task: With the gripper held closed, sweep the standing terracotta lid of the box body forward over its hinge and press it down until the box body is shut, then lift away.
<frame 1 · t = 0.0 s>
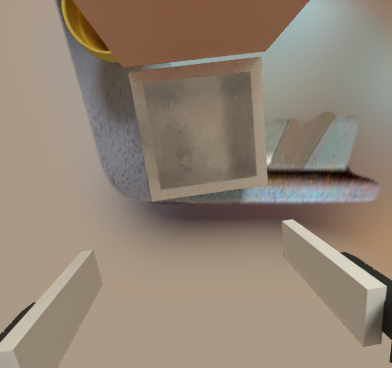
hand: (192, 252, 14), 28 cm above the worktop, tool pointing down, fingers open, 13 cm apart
box body: (197, 135, 39), on the worktop
plant pot: (124, 45, 36), on the worktop
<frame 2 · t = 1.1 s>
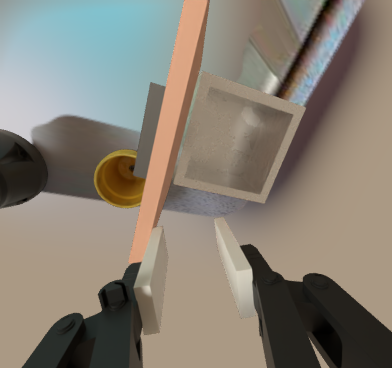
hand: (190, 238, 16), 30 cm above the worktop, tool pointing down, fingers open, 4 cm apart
lid: (163, 134, 22), point 20 cm above the worktop, hinge at 97.7°, touching gripper
box body: (221, 137, 44), on the worktop
plant pot: (133, 166, 44), on the worktop
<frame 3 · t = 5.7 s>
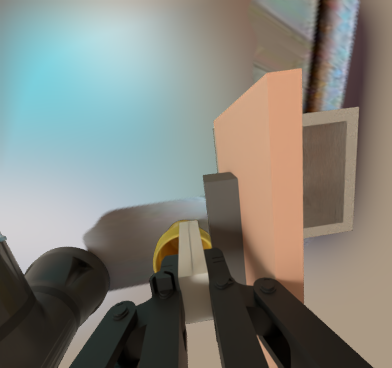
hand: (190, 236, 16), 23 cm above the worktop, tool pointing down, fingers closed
lid: (228, 220, 18), point 21 cm above the worktop, hinge at 94.0°, touching gripper, hand
box body: (263, 170, 39), on the worktop
plant pot: (184, 234, 41), on the worktop
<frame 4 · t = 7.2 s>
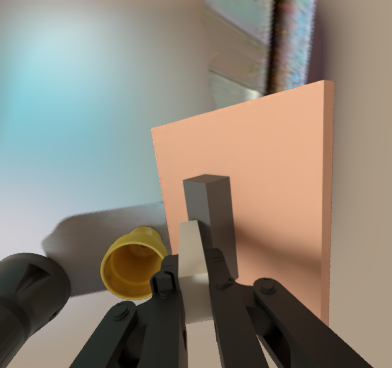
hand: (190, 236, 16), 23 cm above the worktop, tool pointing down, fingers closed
lid: (205, 223, 18), point 20 cm above the worktop, hinge at 57.4°, touching gripper
plant pot: (145, 240, 40), on the worktop
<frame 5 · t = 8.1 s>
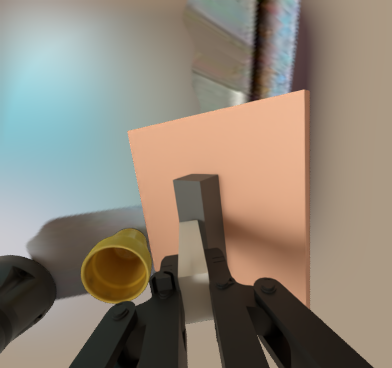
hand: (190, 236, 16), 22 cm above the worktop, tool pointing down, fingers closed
lid: (193, 221, 19), point 19 cm above the worktop, hinge at 45.1°, touching gripper
plant pot: (131, 243, 40), on the worktop
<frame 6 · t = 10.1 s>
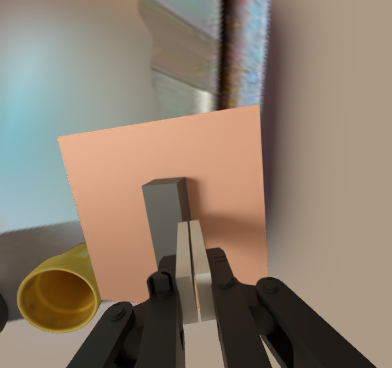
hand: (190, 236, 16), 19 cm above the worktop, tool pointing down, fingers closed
lid: (159, 227, 19), point 16 cm above the worktop, hinge at 17.7°, touching gripper
plant pot: (90, 258, 36), on the worktop
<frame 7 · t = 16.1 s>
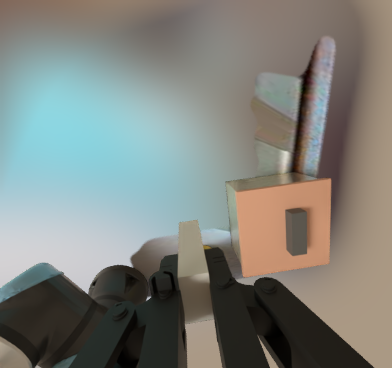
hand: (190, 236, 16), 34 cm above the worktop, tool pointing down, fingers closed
lid: (287, 231, 41), point 13 cm above the worktop, hinge at 0.0°
box body: (261, 209, 53), on the worktop
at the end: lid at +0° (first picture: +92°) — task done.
